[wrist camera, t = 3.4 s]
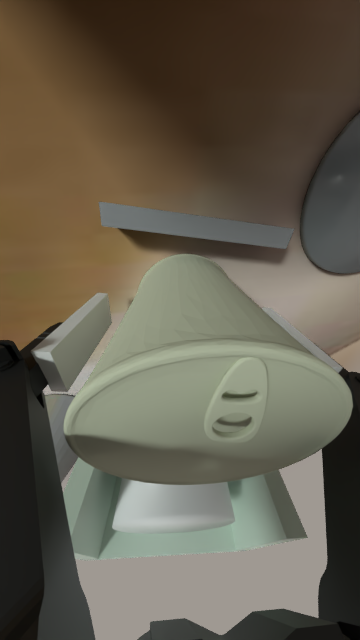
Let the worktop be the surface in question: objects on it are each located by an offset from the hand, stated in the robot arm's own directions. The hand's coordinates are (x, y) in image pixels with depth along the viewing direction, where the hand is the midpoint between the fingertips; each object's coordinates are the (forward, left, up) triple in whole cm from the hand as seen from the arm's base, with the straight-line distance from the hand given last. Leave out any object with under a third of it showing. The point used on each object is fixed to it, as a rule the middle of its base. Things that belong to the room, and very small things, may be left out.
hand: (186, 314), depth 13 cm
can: (0, 0, -2) cm, 2 cm away
